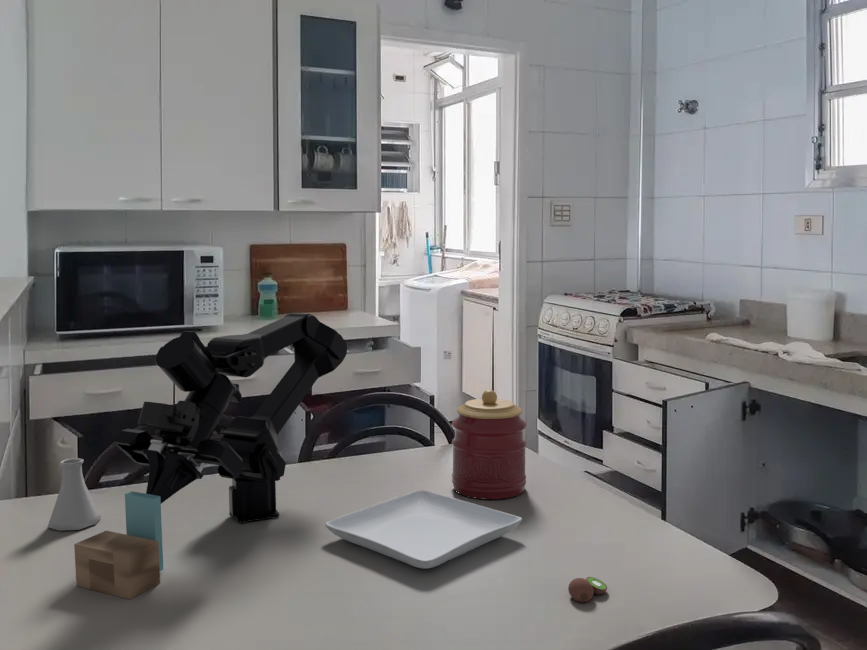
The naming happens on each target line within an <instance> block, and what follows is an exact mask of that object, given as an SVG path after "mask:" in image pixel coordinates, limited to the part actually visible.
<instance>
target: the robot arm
mask: <svg viewBox="0 0 867 650" xmlns="http://www.w3.org/2000/svg"><path fill="white" fill-rule="evenodd" d="M289 346H290V347H291V348H292V349H293V355H294V357H293V358H294V361H293V363H292V364H291V366H290V367H289V368H288V370H287V371H286V373H284V375H283V376H282V377H281V379H280V380H279V381H278V383H277V384H276V386H275V387H274V388H273V389H272V391H271V392H270V393H269V395H268V396H267V397H266V398H265V400H264V401H263V403H262V404H260V406H259V408H258V409H257V411H256V412H255V413H254V414H253V416H251V417H248V416H247V417H246V416H235V417H234V418H233V419H232V420H231V422H230V424H229V425H228V427H227V428H226V429H225V430H223V428H222V427H221V426H220V425H219V422H220V421H221V418H222V417H223V415H224V413H225V412H226V409H228V408H227V407H228V405H229V404H230V402H232V403H233V402H234V403H241V402H243V396H242V393H241V391H240V385H239V383H233V382H232V381H231V379H230V378H229V377H237V378H248V377H251V376H253V374H255V373H256V372H257V371H259V370H260V369H261V368H262V367H263V366H264V363H265V359H266V358H268V357H269V356H271V355H274V354H275V353H277V352H279V351H281V350H283V349H285V348H287V347H289ZM158 349H159V350H158V351H157V353H156V356H155V363H156V365H157V366H158V367H159V369H161V371H162V372H163V373H164V374H165V375H166V376H167V377H168V379H170V380H171V382H172V383H173V384H174V385H175V386H176V387H177V389H179V391H182V392H187V393H188V394H187V395H186V397H185V399H184V400H178V401H177V403H175V404H168V403H163V402H162V403H161V402H154V401H153V402H152V401H143V405H142V407H141V410H140V414H139V418H138V421H137V425H138V426H142V427H143V426H146V427H150V428H153V429H155V430H154V433H153V434H155V435H156V436H157V437H158V438H161V440H159V439H155V438H154V437H153V436H152V435H150V433H148V432H147V430H142V429H141V430H140V429H134V428H133V429H132V428H126V429H122V430H120V432H119V433H118V435H117V436H116V438H115V440H114V442H113V444H114V445H115V446H116V447H117V448H118V449H119V450H120V451H121V452H123V454H125V455H126V456H127V457H129V459H131V460H132V462H134V463H136V464H138V465H142V466H149V467H148V478H147V479H148V481H147V486H146V491H145V494H151V495H156V496H160V498H161V504H164V502H166V501H167V500H168V499H169V498H171V497H173V496H174V495H175V494H176V493H178V492H179V491H181V490H182V489H184V488H186V486H188V485H190V484H191V483H193V482H194V481H196V480H202V479H203V477H204V475H203V473H202V471H203V469H204V467H205V465H206V466H207V465H215V466H218V468H217V472H218V474H219V476H220V477H221V478H225V479H231V484H232V485H229V487H228V502H229V503H228V508H229V509H228V510H229V512H230V514H231V515H232V516H233V517H234V518H235V520H236V521H237V523H245V522H254V521H259V520H265V519H272V518H278V517H280V511H278V510H277V492H276V491H277V489H276V487H277V486H276V485H277V484H276V482H278V481H280V480H281V478H282V477H284V475H285V470H286V465H287V462H286V461H285V460H284V458H282V457H281V455H280V454H279V453H278V452H279V436H278V435H279V433H280V432H281V430H282V429H283V428H284V426H285V425H286V424H287V422H288V421H289V419H290V418H291V416H292V415H293V414H294V412H295V411H296V410H297V408H298V407H299V405H300V404H301V403H302V401H303V399H305V397H306V395H307V394H308V393H309V392H310V390H311V389H312V388H313V386H314V384H315V383H316V382H317V380H318V379H320V378H321V377H323V376H325V375H327V374H330V373H332V372H334V371H335V370H336V369H337V368H338V367H339V366H340V365H341V364H342V363H343V362H344V360H345V358H346V356H347V354H348V345H347V342H346V340H345V339H344V337H343V336H342V335H341V334H340V333H339V332H338V331H337V330H336V329H334V328H332V327H330V326H328V325H327V324H325V323H323V322H321V321H320V320H319V319H318V318H317V316H315V315H313V314H311V313H306V312H305V313H304V312H303V313H302V312H290V313H288V314H286V315H285V316H283V317H282V318H279V319H278V320H275V321H273V322H271V323H268V324H266V325H264V326H262V327H260V328H257V329H255V330H253V331H250V332H248V333H244V334H243V333H242V334H233V335H232V334H231V335H222V336H216V337H214V338H212V339H211V340H209V341H208V342H207V345H206V346H205V345H204V343H203V342H202V341H201V339H200V337H199V336H198V334H197V333H196V331H187V330H183V331H182V332H181V334H180V335H179V336H177V337H175V338H173V339H171V340H169V341H168V342H166V343H165V344H164V345H163V346H161V347H160V348H158ZM222 430H223V431H222ZM221 431H222V432H221ZM220 433H221V434H220ZM213 435H217V436H218V435H222V436H221V438H220V439H219V440H215V439H211V438H212V436H213Z"/></svg>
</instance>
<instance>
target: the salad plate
mask: <svg viewBox="0 0 867 650" xmlns="http://www.w3.org/2000/svg"><path fill="white" fill-rule="evenodd" d="M522 521H523V518H522V517H521V516H517V515H515V514H511V513H507V512H505V511H501V510H498V509H494V508H491V507H487V506H483V505H481V504H477V503H473V502H469V501H466V500H462V499H458V498H455V497H451V496H447V495H444V494H440V493H436V492H433V491H429V490H424V489H418V490H415V491H412V492H409V493H406V494H402V495H400V496H396V497H392V498H390V499H387V500H384V501H380V502H377V503H375V504H373V505H370V506H366V507H364V508H361V509H357V510H355V511H352V512H350V513H349V512H348V513H347V514H343V515H341V516H338V517H336V518H332V519H331V520H328V521H326V522H325V523H324V525H325V527H326V528H327V529H328V531H329V532H331V533H332V534H334V535H335V536H337V537H339V538H340V539H343V540H345V541H347V542H349V543H352V544H354V545H358V546H360V547H363V548H366V549H369V550H371V551H374V552H376V553H379V554H381V555H383V556H387V557H389V558H391V557H392V558H391V559H395V560H396V561H399V562H403V563H405V564H407V565H409V566H412V567H415V568H417V569H423V570H426V569H432V568H435V567H437V566H440V565H442V564H443V563H446V561H447V562H448V560H449V561H451V560H453V559H455V557H456V558H458V557H460V556H462V555H464V554H467V553H468V551H469V552H471V551H473V550H475V549H477V548H479V547H482V546H483V544H484V545H486V544H488V543H489V542H491V541H494V540H495V539H498V538H501V537H503V536H505V535H506V534H509V533H510V532H512V531H513V530H514V529H515V528H517V527H518V526H519V525H520V523H521V522H522ZM485 543H486V544H485ZM481 545H482V546H481ZM466 552H467V553H466ZM457 556H458V557H457Z"/></svg>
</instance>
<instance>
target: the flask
mask: <svg viewBox="0 0 867 650" xmlns="http://www.w3.org/2000/svg"><path fill="white" fill-rule="evenodd" d="M84 461H85V460H84V459H83V458H79V457H75V458H66V459H63V460H60V462H59V466H60V467H61V481H60V487H59V491H58V493H57V498H56V501H55V503H54V504H55V505H54V507H53V509H52V513H51V516H50V518H49V520H48V524H47V528H49V529H53V530H56V531H78V530H79V531H81V530H82V529H85V528H88V527H91V526H93V525H96V524H97V523H98V522H99V521H100V520H101V518H102V516H101V513H100V512H99V510H98V507H97V506H96V504H95V502H94V500H93V498H92V495H91V494H90V491H89V488H88V487H87V485H86V483H85V478H84V475H83V466H82V465H83V463H84Z"/></svg>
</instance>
